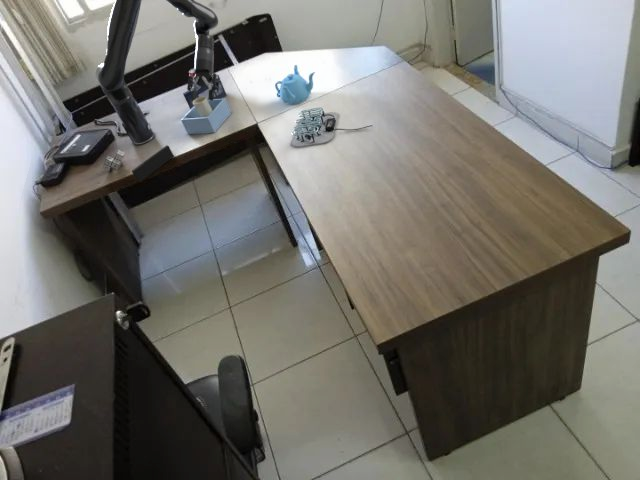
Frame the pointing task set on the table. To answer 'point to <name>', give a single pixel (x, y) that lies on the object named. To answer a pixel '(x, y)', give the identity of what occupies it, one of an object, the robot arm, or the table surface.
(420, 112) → the table surface
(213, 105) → the basin
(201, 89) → the vhs cassette tape
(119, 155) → the building blocks
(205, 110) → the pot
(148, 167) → the dark grey slab
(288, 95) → the teapot
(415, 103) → the table surface
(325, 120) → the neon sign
